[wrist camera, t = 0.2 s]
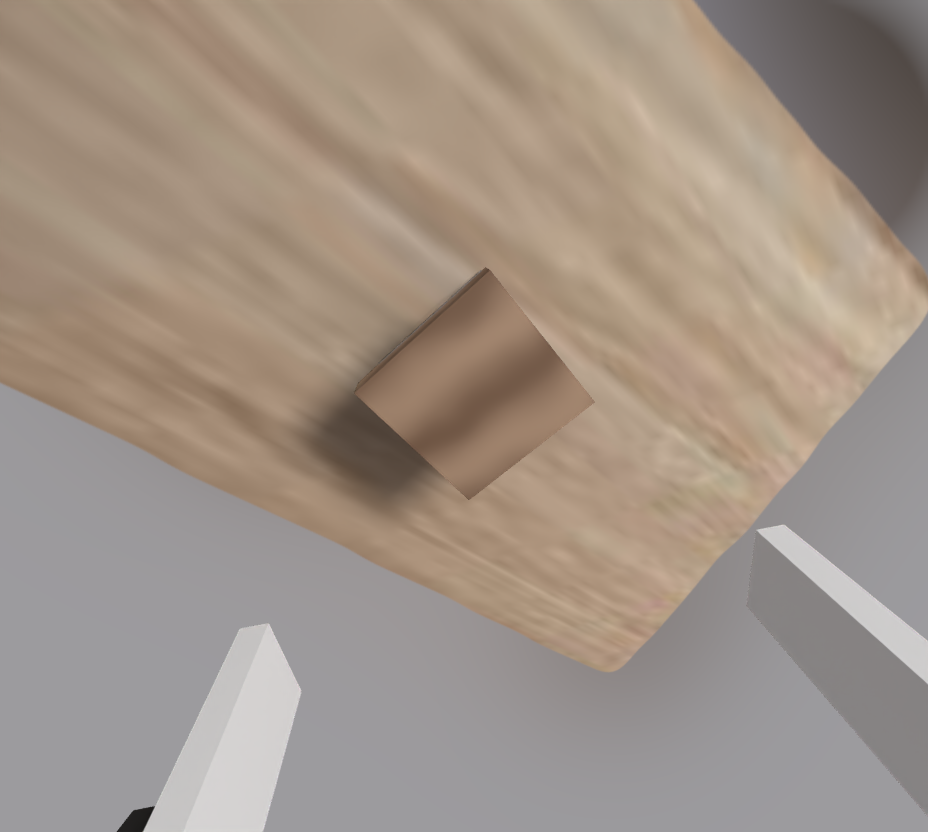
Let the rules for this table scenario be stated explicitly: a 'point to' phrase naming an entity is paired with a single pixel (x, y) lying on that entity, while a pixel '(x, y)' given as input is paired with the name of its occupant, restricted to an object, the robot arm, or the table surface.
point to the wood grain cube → (474, 387)
